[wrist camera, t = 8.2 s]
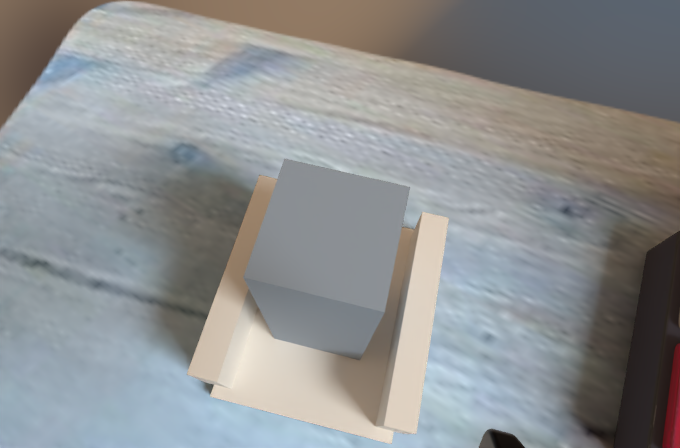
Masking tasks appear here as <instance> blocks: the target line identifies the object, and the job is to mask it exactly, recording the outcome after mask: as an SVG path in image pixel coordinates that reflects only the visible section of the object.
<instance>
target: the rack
mask: <svg viewBox="0 0 680 448" xmlns="http://www.w3.org/2000/svg"><path fill="white" fill-rule="evenodd" d="M276 182H277V179H275V178H271V177H266V176H262V175H259V178H258V181H257V183H256V186H255V189H254V192H253V194H252V197H251V200H250V203H249V205H248V208H247V211H246V214H245V216H244V219H243V222H242V224H241V227H240V230H239V233H238V235H237V238H236V241H235V244H234V246H233V249H232V252H231V255H230V257H229V260H228V263H227V265H226V268H225V271H224V274H223V276H222V279H221V282H220V285H219V287H218V290H217V293H216V296H215V298H214V301H213V304H212V306H211V309H210V312H209V315H208V317H207V320H206V323H205V326H204V328H203V331H202V334H201V337H200V339H199V342H198V345H197V347H196V350H195V353H194V356H193V358H192V361H191V364H190V367H189V369H188V372H187V375H189V376H192V377H194V378H196V379H199V380H201V381H203V382H206V383H210V384H214V386H213V389H212V392H211V395H210V397H213V398H217V399H221V400H225V401H228V402H232V403H236V404H240V405H244V406H247V407H251V408H255V409H259V410H263V411H267V412H270V413H274V414H278V415H282V416H286V417H289V418H293V419H297V420H301V421H305V422H308V423H312V424H316V425H320V426H324V427H327V428H331V429H335V430H339V431H343V432H346V433H350V434H354V435H358V436H362V437H366V438H369V439H373V440H377V441H381V442H385V443H388V444H392V438H393V432H398V433H402V434H416V432H417V425H418V418H419V412H420V405H421V399H422V392H423V385H424V379H425V372H426V366H427V359H428V352H429V346H430V339H431V333H432V326H433V319H434V313H435V306H436V300H437V293H438V286H439V280H440V273H441V266H442V260H443V253H444V247H445V240H446V233H447V227H448V220H449V218H447V217H443V216H438V215H434V214H429V213H425V212H422V214H421V216H420V218H419V221H418V223H417V225H416V227H415V229H414V230H413V229H409V228H404V227H402V229H401V234H400V239H399V244H398V249H397V254H396V259H395V264H394V269H393V274H392V279H391V284H390V289H389V294H388V298H387V303H386V308H385V313H384V315H383V317H382V318H381V320H380V322H379V324H378V326H377V328H376V330H375V332H374V334H373V336H372V338H371V340H370V342H369V344H368V346H367V348H366V349H365V351H364V353H363V355H362V357H361V359H360V360H356V359H352V358H349V357H345V356H341V355H337V354H333V353H329V352H325V351H321V350H317V349H313V348H309V347H305V346H301V345H298V344H294V343H290V342H286V341H282V340H278V339H274V337H273V335H272V333H271V331H270V329H269V327H268V325H267V323H266V321H265V319H264V317H263V315H262V313H261V311H260V309H259V307H258V305H257V303H256V301H255V299H254V297H253V296H252V294H251V292H250V290H249V288H248V286H247V284H246V282H245V280H244V278H243V276H244V274H245V271H246V268H247V265H248V262H249V259H250V256H251V253H252V251H253V248H254V245H255V242H256V239H257V236H258V233H259V231H260V228H261V225H262V222H263V219H264V216H265V213H266V211H267V208H268V205H269V202H270V199H271V196H272V193H273V190H274V188H275V185H276Z"/></svg>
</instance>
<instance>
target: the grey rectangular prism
mask: <svg viewBox="0 0 680 448" xmlns="http://www.w3.org/2000/svg"><path fill="white" fill-rule="evenodd" d="M409 190H410V187H407V186H403V185H398V184H394V183H389V182H385V181H381V180H376V179H372V178H367V177H363V176H359V175H354V174H350V173H345V172H341V171H337V170H332V169H328V168H323V167H319V166H315V165H310V164H306V163H301V162H297V161H292V160H288V159H284V162H283V165H282V168H281V170H280V173H279V176H278V179H277V182H276V185H275V188H274V190H273V193H272V196H271V199H270V202H269V205H268V208H267V211H266V213H265V216H264V219H263V222H262V225H261V228H260V231H259V233H258V236H257V239H256V242H255V245H254V248H253V251H252V253H251V256H250V259H249V262H248V265H247V268H246V271H245V274H244V276H243V278H244V280H245V282H246V284H247V286H248V288H249V290H250V292H251V294H252V296H253V297H254V299H255V301H256V303H257V305H258V307H259V309H260V311H261V313H262V315H263V317H264V319H265V321H266V323H267V325H268V327H269V329H270V331H271V333H272V335H273V337H274V339H278V340H282V341H286V342H290V343H294V344H298V345H301V346H305V347H309V348H313V349H317V350H321V351H325V352H329V353H333V354H337V355H341V356H345V357H349V358H352V359H356V360H360V359H361V357H362V355H363V353H364V351H365V349H366V348H367V346H368V344H369V342H370V340H371V338H372V336H373V334H374V332H375V330H376V328H377V326H378V324H379V322H380V320H381V318H382V317H383V315H384V313H385V308H386V303H387V298H388V294H389V289H390V284H391V279H392V274H393V269H394V264H395V259H396V254H397V249H398V244H399V239H400V234H401V229H402V224H403V219H404V215H405V210H406V205H407V200H408V195H409Z"/></svg>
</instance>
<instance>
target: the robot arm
mask: <svg viewBox="0 0 680 448" xmlns="http://www.w3.org/2000/svg"><path fill="white" fill-rule="evenodd" d="M479 448H525V447H524V446H523V445H522V444H521V442H520V441H519V440H518V439H517V438H516V437H515V436H514V435H512V434H510V433H506V432H502V431H499V430H495V429H489V430H487V431H486V432H485V434H484V436H483V438H482V441H481V443H480V446H479Z"/></svg>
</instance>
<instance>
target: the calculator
mask: <svg viewBox="0 0 680 448" xmlns="http://www.w3.org/2000/svg"><path fill="white" fill-rule="evenodd" d="M614 448H680V231H679V232H677V233H676V234H674V235H672V236H671V237H669V238H668V239H666V240H665V241H663V242H661V243H660V244H658V245H657V246H655V247H654V248H652V249H651V250H649V251H648V252H647V255H646V261H645V266H644V272H643V278H642V284H641V290H640V296H639V301H638V307H637V313H636V319H635V325H634V331H633V337H632V342H631V348H630V354H629V360H628V366H627V372H626V377H625V383H624V389H623V395H622V401H621V407H620V412H619V418H618V424H617V430H616V436H615V442H614Z"/></svg>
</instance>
